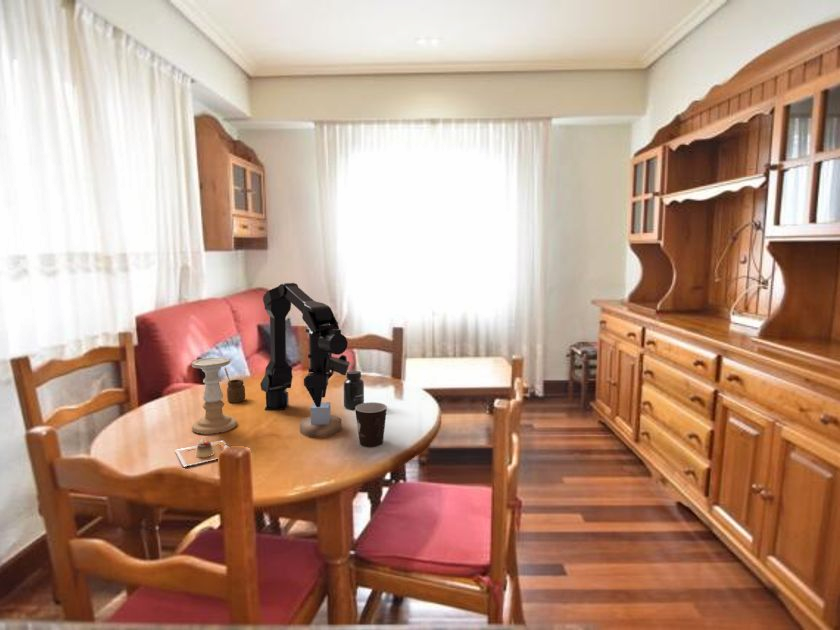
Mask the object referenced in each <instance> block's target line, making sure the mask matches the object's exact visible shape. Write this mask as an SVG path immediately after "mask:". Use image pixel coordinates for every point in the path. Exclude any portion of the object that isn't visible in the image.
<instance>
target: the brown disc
mask: <svg viewBox="0 0 840 630" xmlns="http://www.w3.org/2000/svg"><path fill="white" fill-rule="evenodd" d="M342 422H343V421H342V418H341V417H339V416H338V415H334V414H333V415H332V414H331V419H330V422H329V424H318V425H311V415H310V416H307V417H304V418H302V419H301V420H300V421H299V432H300V434H301V435H302V434H303V435H302V436H304V435H305V436H304V437H307V436H308V437H309V438H325V437H331V436H335V435H337V434H339V433H341V431H342V430H343V423H342Z"/></svg>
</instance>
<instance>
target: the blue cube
mask: <svg viewBox="0 0 840 630" xmlns="http://www.w3.org/2000/svg"><path fill="white" fill-rule="evenodd" d="M331 415H332V414H331V401H328V402H327V401H324V402H323V401H321V406H320V407H316V405H315V403H314V402H312V404H311V406H310V416H311V425H318V424H329V422H330V419H331Z"/></svg>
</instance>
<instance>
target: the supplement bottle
mask: <svg viewBox="0 0 840 630" xmlns="http://www.w3.org/2000/svg"><path fill="white" fill-rule="evenodd" d="M345 377H346V379H345V380H344V381H343V406H344V408H345V409H348V410H355V407H356V406H357V405H359V404H363V403H365V382H364V380H363V379H362V371H360V370H347V373H346V375H345Z"/></svg>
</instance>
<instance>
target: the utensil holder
mask: <svg viewBox="0 0 840 630" xmlns="http://www.w3.org/2000/svg"><path fill="white" fill-rule="evenodd" d="M224 371H225V375H226V377H227V380H228V381H227V388H226V399H227V402H228V403H232V404H236V403H241V402H244V401H245V400H246V387H245V385H244V380H243V379H245V378H244V377H245V376H242V379H239V378H241V375H242V374H245V371H242V372H241V369H240V370H238V371H237V373H236V374H237V375H239V374H240V376H236V379H230V377H229V373H228V370H227V367H225V366H224ZM241 373H242V374H241Z"/></svg>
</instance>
